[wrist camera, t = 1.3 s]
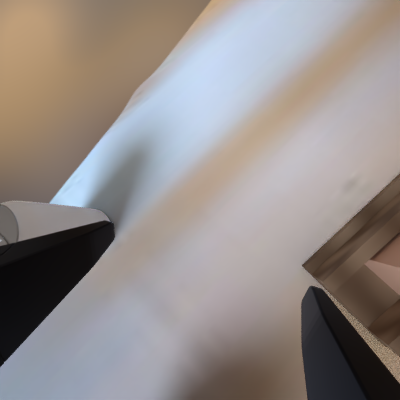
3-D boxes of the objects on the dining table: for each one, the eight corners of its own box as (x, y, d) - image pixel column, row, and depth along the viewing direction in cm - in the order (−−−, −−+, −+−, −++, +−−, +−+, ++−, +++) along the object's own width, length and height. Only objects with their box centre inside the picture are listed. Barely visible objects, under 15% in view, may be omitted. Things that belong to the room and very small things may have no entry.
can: (95, 199, 29) (-4, 182, 17) (122, 232, 27) (35, 238, 16) (65, 231, 29) (-52, 235, 18) (90, 266, 28) (-19, 295, 16)
